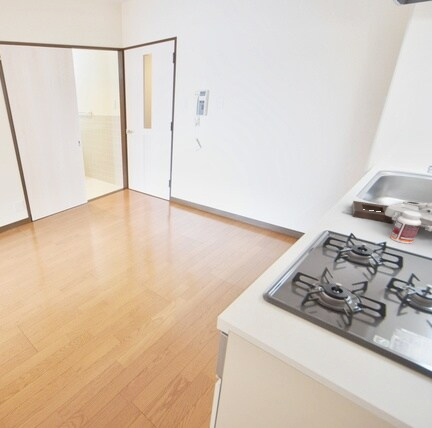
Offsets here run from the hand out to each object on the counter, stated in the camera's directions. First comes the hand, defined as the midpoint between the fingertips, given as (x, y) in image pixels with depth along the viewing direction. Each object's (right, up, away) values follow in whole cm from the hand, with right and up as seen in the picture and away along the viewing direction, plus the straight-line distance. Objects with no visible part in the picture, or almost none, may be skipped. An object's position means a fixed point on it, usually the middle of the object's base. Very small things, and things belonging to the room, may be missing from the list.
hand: (410, 223), depth 102 cm
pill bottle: (-1, -7, +2) cm, 7 cm away
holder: (+6, +3, +22) cm, 23 cm away
